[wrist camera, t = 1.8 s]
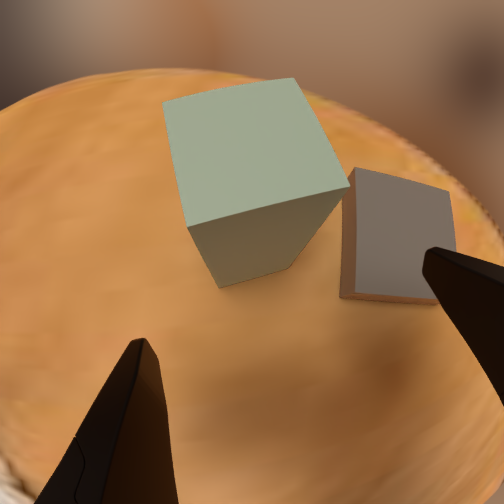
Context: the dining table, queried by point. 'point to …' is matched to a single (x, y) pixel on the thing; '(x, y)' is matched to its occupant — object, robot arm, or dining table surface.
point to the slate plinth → (391, 237)
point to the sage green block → (252, 175)
